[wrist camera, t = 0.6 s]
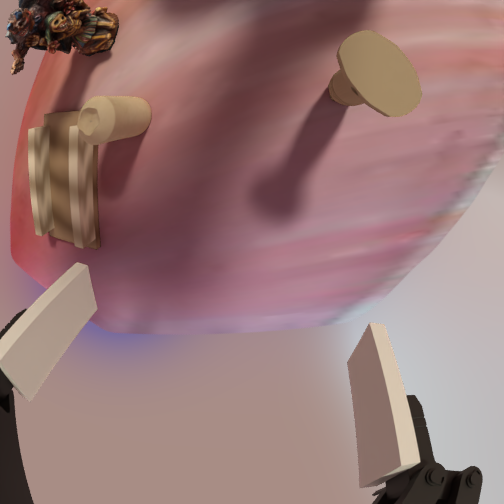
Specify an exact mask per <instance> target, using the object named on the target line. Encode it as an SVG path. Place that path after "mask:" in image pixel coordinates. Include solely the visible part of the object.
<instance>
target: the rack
mask: <svg viewBox="0 0 504 504" xmlns="http://www.w3.org/2000/svg"><path fill="white" fill-rule="evenodd" d="M79 114H80V111H69V112H58V113H49V114H44V126H41V127H36V128H32V129H29V131H28V162H29V181H30V193H31V203H32V211H33V218H34V225H35V231H36V234H37V235H40V236H43V235H44V234H46V233H47V232H49V233H50V236H52V237H55V238H58V239H62V240H65V241H68V242H72V243H75V246H76V247H79V248H82V249H83V248H85V247H89V248H93V249H96V250H97V249H98V248H99V247H101V245H100V233H99V219H98V197H97V159H98V145H91V144H88V143H86V142H85V141H84V140H83V138H82V137H81V135H80V133H79V129H78V127H77V122H78V117H79Z"/></svg>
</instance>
